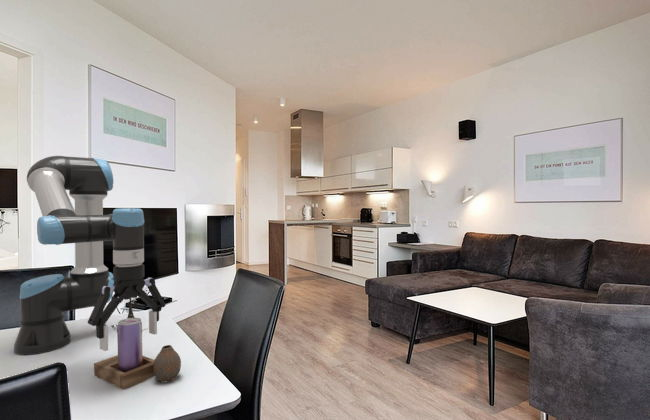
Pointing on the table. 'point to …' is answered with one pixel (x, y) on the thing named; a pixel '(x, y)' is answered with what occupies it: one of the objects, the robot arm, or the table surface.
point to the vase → (167, 364)
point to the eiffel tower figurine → (130, 314)
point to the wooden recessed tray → (112, 375)
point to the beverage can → (129, 344)
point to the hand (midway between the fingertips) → (129, 341)
